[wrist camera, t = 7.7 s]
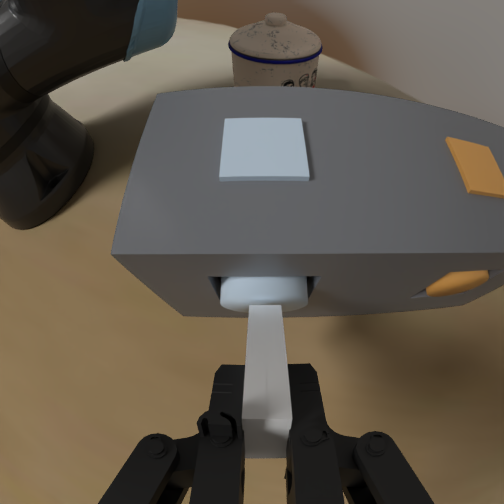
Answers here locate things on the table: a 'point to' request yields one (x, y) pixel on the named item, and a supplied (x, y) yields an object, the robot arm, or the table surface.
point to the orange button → (457, 283)
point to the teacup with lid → (274, 54)
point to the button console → (312, 199)
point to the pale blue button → (264, 292)
